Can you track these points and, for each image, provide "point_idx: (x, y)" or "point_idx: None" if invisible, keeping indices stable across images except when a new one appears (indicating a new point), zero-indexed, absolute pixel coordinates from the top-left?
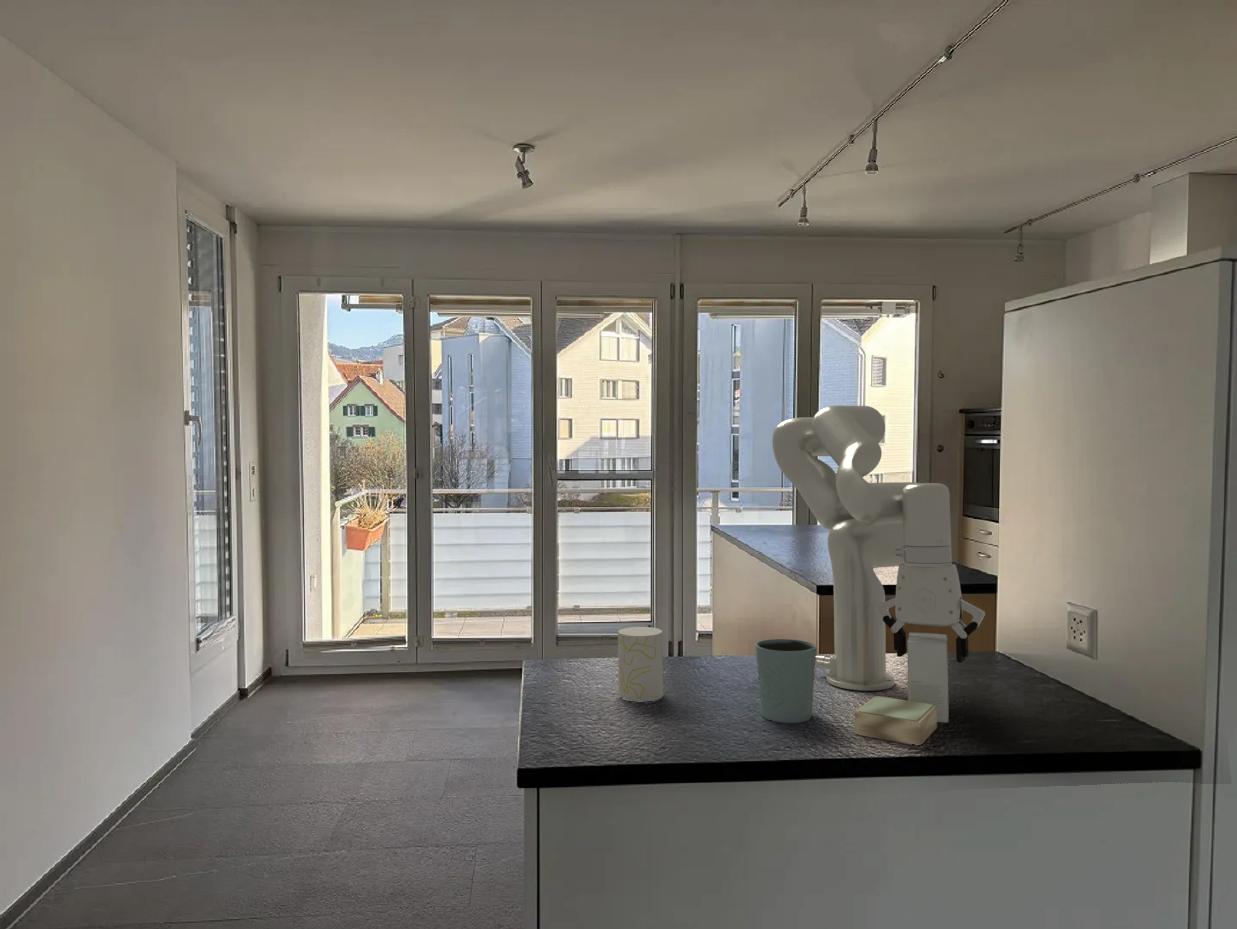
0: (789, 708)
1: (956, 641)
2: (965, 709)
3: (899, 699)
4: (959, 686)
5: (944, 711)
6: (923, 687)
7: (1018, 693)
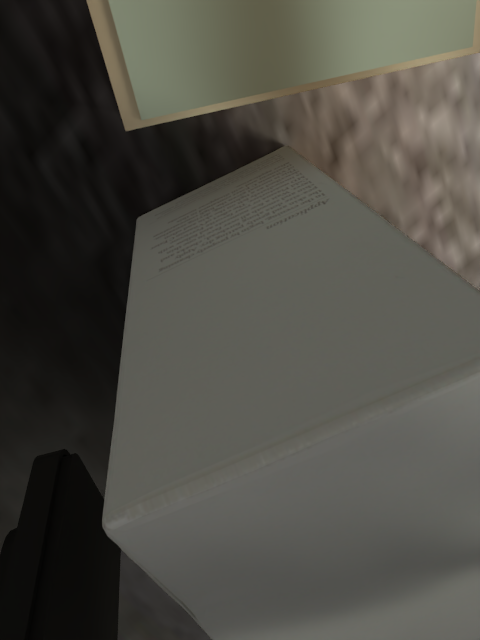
0: None
1: (40, 635)
2: None
3: (339, 75)
4: None
5: (146, 227)
6: (252, 221)
7: (149, 593)
